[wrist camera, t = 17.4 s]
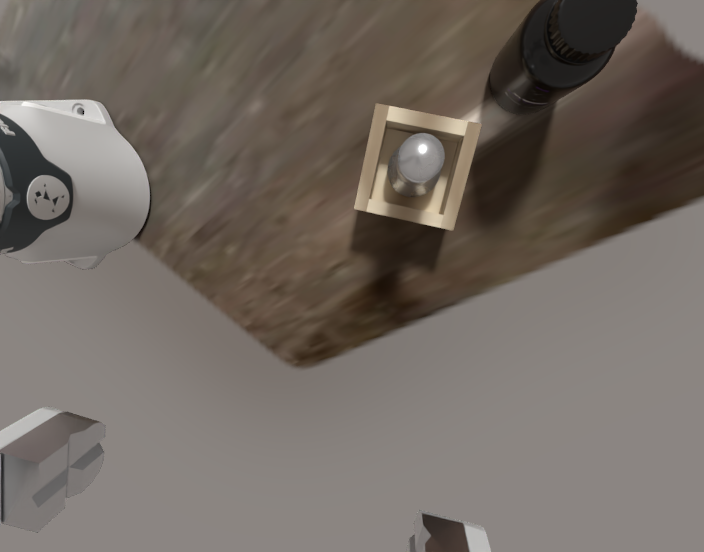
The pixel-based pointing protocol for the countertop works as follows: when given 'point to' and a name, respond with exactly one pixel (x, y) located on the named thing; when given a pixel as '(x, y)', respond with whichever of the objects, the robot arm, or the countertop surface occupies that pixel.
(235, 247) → the countertop surface
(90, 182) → the robot arm
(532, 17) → the supplement bottle
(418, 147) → the metal coffee tamper
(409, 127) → the open wooden box
